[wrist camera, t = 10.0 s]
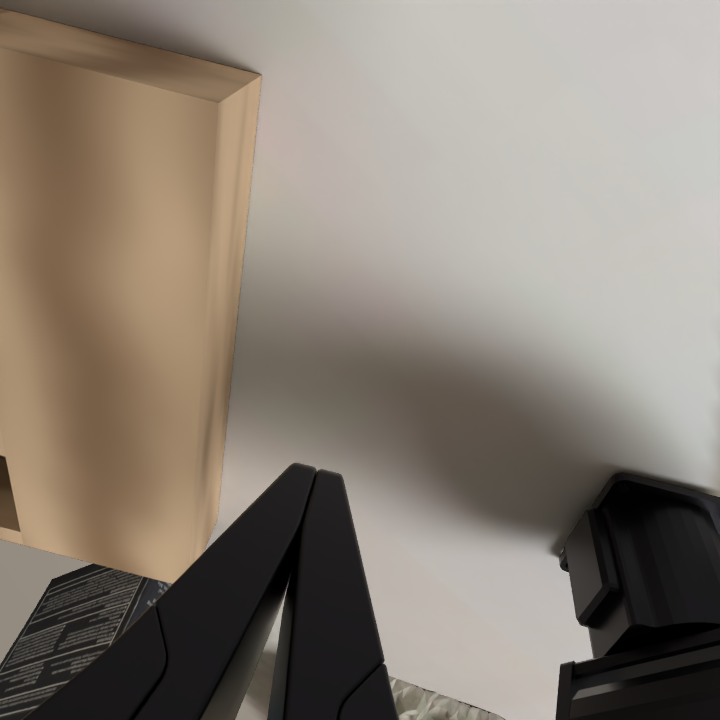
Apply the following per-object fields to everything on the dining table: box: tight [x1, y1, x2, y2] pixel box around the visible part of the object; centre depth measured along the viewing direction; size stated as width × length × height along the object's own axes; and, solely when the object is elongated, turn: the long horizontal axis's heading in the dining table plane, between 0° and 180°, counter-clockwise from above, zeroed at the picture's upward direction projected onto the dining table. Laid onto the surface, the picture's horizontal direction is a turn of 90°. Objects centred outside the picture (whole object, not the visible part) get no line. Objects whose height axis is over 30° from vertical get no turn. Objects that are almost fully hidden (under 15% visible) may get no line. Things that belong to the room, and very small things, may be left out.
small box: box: [0, 563, 172, 720], centre depth 32 cm, size 11×6×10 cm, turn 124°
